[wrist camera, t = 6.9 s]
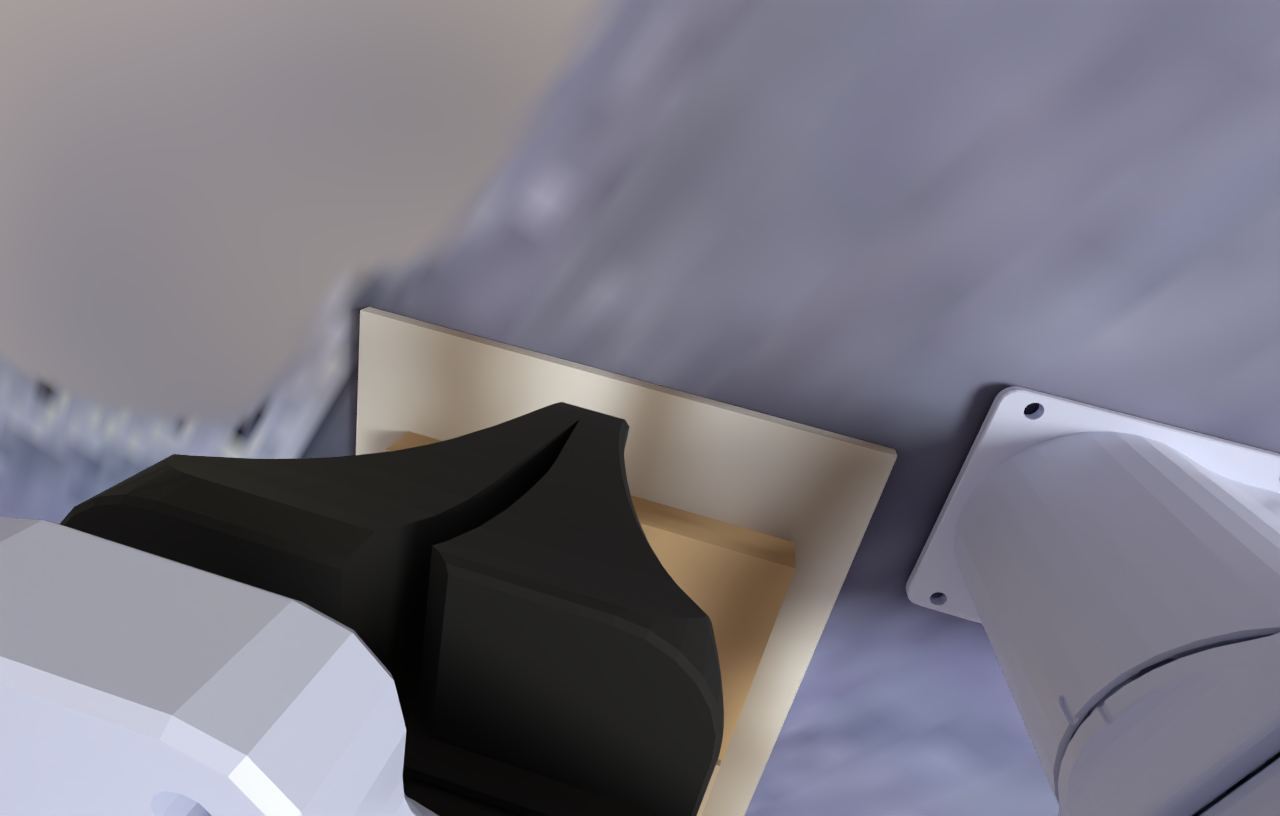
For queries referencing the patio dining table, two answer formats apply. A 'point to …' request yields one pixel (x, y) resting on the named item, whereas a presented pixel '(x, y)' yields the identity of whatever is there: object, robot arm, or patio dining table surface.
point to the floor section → (655, 480)
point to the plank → (714, 583)
